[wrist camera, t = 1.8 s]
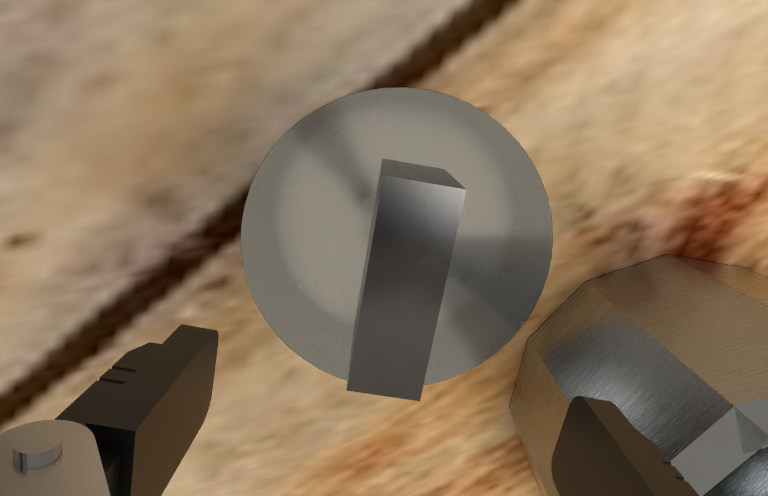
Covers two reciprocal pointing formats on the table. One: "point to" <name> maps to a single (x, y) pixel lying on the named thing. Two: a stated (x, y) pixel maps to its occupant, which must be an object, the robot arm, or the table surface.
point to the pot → (659, 369)
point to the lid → (396, 239)
